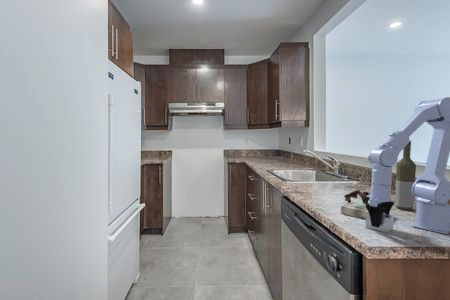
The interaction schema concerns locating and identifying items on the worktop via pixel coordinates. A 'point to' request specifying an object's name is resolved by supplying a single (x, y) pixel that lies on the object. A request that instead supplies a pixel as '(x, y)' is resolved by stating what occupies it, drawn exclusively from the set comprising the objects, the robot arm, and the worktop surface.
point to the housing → (385, 223)
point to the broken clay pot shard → (354, 195)
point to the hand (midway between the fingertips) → (379, 224)
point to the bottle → (405, 180)
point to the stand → (355, 210)
